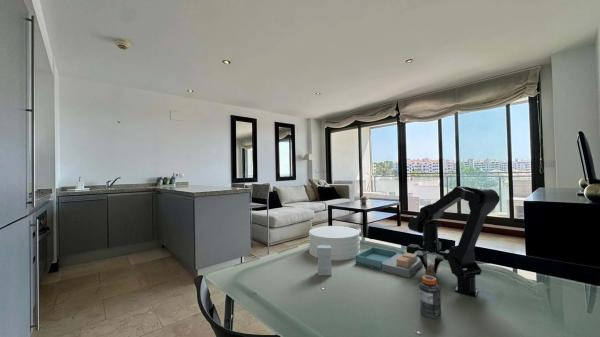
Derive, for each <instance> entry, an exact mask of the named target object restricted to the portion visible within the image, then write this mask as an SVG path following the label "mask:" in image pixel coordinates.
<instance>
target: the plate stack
mask: <svg viewBox="0 0 600 337" xmlns="http://www.w3.org/2000/svg"><path fill="white" fill-rule="evenodd" d="M308 235H309V237H308V243H309V244H308V246H309V251H308V252H309V254H310V255H311V256H312V257H315V258H316V259H318V257H317V246H318V245H330V246H331V261H347V260H351V259H352V260H353V259H356V255H358V254H359V253H361V250H360V248H361V244H360V243H361V242H360V240H361V239H360V231H359V230H358V229H356V228H353V227H351V226H350V227H348V226H342V225H325V226H317V227H314V228H311V229H310V230H309V231H308Z"/></svg>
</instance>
